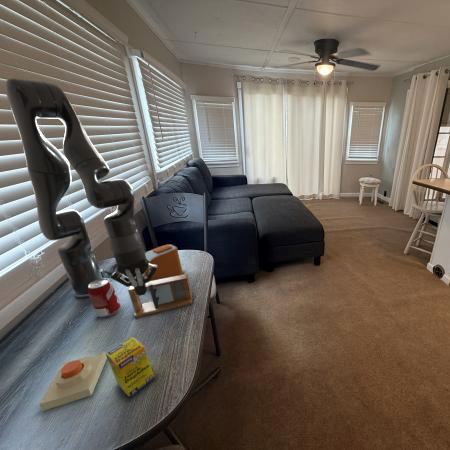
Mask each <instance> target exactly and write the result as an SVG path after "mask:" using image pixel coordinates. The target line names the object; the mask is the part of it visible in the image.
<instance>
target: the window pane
mask: <svg viewBox="0 0 450 450" xmlns="http://www.w3.org/2000/svg"><path fill="white" fill-rule="evenodd" d="M148 286H149V290H148V291H149V292H150V297H151V300H152V301H153V303H154V307H155V309H157V308H159V304H163V303H167V302H172V301H176V295H175V291H174V287H173V283H172V284H167V285H162V286H158V287H153V284H149V285H148Z"/></svg>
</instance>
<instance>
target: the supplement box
mask: <svg viewBox="0 0 450 450" xmlns="http://www.w3.org/2000/svg"><path fill="white" fill-rule="evenodd" d="M105 354H106V357H107V359H106V360H107V361H108V364H109V366H110V368H111V372H112V373H113V376H114V378H115V380H116V383H117V385H118V387H119V388H120V389H121V390H122V391H123V392H124V394H125V395H126V396H127V397H128V398H129V399H131V398H132V397H134V396H135V395H136V394H137V393H138V392H139V391H140V390H142V389H143V388H144V387H146V386H147V385H148V384H150V383H151V382H152V381H153V380H155V375H154V371H153V369H152V366H151V362H150V360H149V357H148V354H147V351H146V348H145V346H144V345H143V344H142V343H141V342H140V341H138V339H136V338H135V337H133V336H131V337H130V338H128V339H127V340H126V341H124V342H123V343H121V344H119V345H118V346H116V347H114V348H113V349H111V350H109V351H108V352H105Z"/></svg>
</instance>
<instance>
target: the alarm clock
mask: <svg viewBox="0 0 450 450" xmlns="http://www.w3.org/2000/svg"><path fill="white" fill-rule="evenodd" d="M145 256H146V259H147V260H148V261H149V263H150V264H153V265H154V264H157V265H158V267H157V270H156V271H155V273H154V275H153V276H152V278H151V279H150V281H154V280H159V279H164V278H169V277H174V276H179V275H184V274H183V272H184V271H183V267H182V264H181V259H180V255H179V251H178V247H177V246H175V245H173V244H170V243H169V244H165V245H161V246H158V247H156V248H153V249H151V250H148V251H146V252H145ZM149 272H150V271H149V268H148V267H147V269H146V271H145V273H144V278H146V277H147V275H148V273H149ZM147 291H150V290H149V288H148V289H147Z"/></svg>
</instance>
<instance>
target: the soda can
mask: <svg viewBox="0 0 450 450" xmlns="http://www.w3.org/2000/svg"><path fill="white" fill-rule="evenodd" d="M88 288H89V289H88V294H89V296H88V297H89V299H90V302H91V304H92V306H93V309H94V311H95V314H96V316H97V317H98V318H106V317H109V316H112V315H114V314H115V313H117V312H118V311H120V309H121V303H120V300H119V297H118V295H117V291H116V289H115V286H114V283H113V282H112V281H110V279H109V278H106V277H104V278H103V279H99V280H96V281H94V282H92V283H90V284H89V285H88Z"/></svg>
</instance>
